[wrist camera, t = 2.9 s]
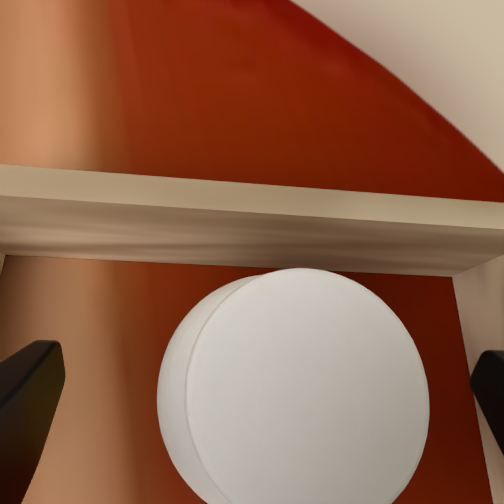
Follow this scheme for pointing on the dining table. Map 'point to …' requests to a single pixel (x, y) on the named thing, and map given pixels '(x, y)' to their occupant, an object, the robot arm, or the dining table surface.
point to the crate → (269, 238)
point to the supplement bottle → (293, 394)
